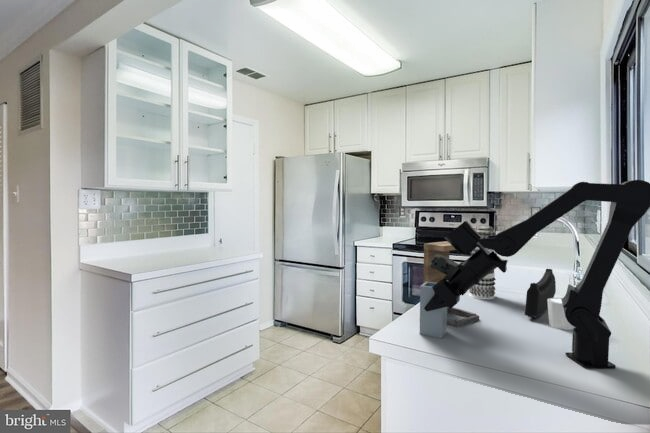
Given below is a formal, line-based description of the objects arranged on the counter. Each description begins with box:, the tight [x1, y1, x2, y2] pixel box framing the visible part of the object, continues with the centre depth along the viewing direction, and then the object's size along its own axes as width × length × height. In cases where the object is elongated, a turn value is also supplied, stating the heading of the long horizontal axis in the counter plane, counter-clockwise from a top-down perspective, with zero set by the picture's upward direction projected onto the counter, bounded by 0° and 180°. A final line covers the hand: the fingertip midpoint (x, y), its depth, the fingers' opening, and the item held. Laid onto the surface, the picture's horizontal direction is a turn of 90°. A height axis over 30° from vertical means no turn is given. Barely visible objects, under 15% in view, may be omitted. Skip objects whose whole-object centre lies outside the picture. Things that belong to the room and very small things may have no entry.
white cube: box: [547, 297, 575, 331], centre depth 99 cm, size 7×7×7 cm
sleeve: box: [419, 282, 448, 339], centre depth 94 cm, size 6×6×12 cm
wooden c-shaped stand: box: [422, 240, 480, 328], centre depth 106 cm, size 12×10×22 cm
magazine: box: [524, 268, 557, 318], centre depth 115 cm, size 17×3×30 cm
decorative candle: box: [468, 225, 498, 301], centre depth 129 cm, size 9×9×25 cm
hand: (428, 306), depth 95 cm, fingers closed on sleeve, 6 cm apart
